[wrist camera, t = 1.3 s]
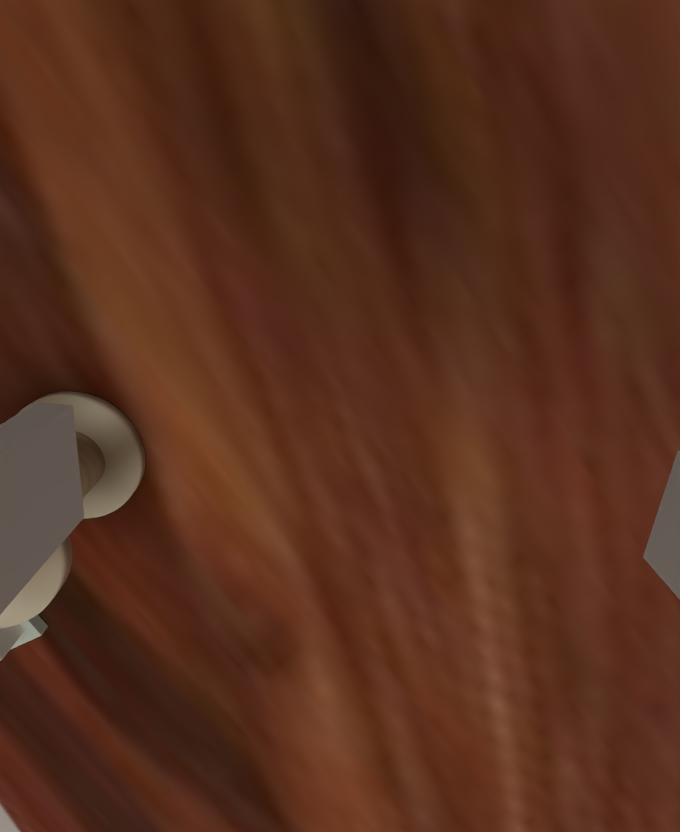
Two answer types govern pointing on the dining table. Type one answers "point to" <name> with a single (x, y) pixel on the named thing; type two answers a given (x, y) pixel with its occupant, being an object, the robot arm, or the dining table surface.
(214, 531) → the dining table surface
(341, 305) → the dining table surface
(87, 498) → the bobbin
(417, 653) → the dining table surface
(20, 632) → the notch board
